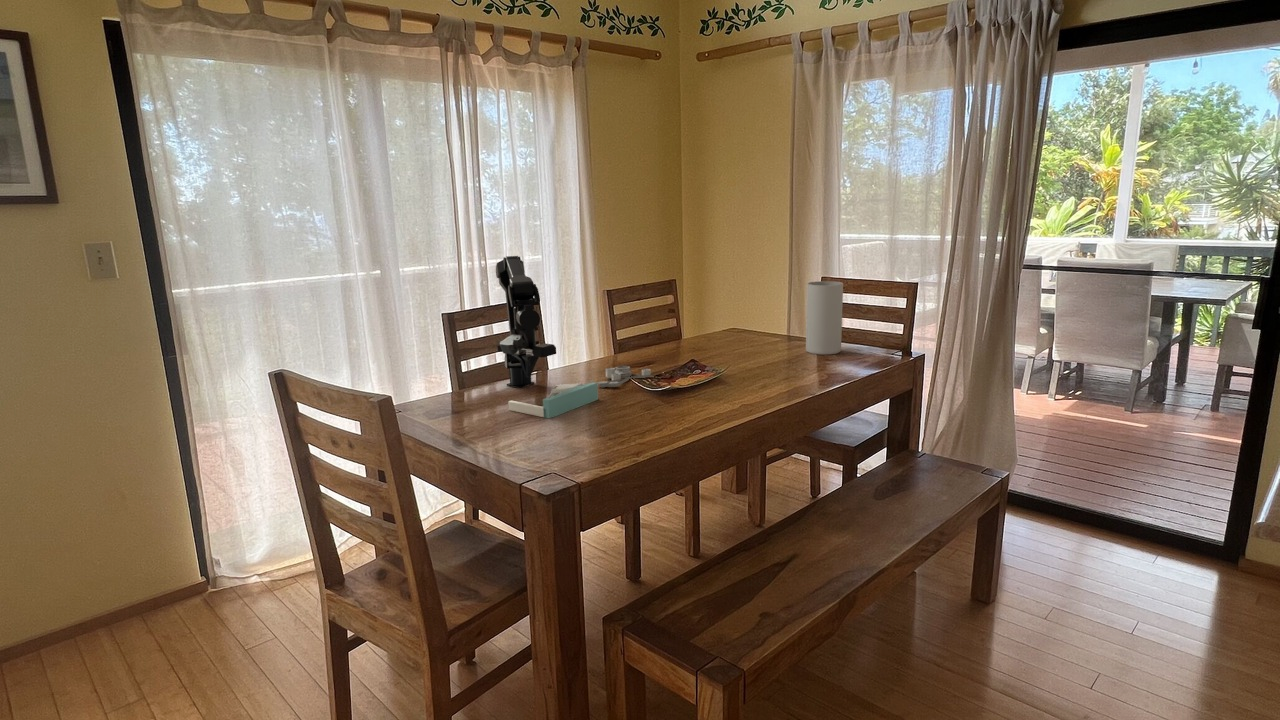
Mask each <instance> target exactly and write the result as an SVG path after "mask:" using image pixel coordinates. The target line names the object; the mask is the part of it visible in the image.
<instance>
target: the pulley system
mask: <svg viewBox="0 0 1280 720" xmlns="http://www.w3.org/2000/svg"><path fill="white" fill-rule="evenodd" d="M630 369H631V366H629V365H621V366H615V367H607V368H606V367H605V377H606V378H607V379H609V378H611V380H607V381H598V382H597V386H598V388H599V387H600V388H601V389H605V388H606V387H607V388H608V387H609V388H618V387H619V386H621V385H623V384H624V383H627V382H628V381H629V379H630V380H633V379H632V378H645V377H654V376H652V375H656V374H657V373H654V374H652V369H650V368H642V369H641V374H636V373H632V371H631V370H630ZM664 372H665V371H663V372H662V373H664ZM632 375H634V376H632ZM630 376H631V377H630Z"/></svg>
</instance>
